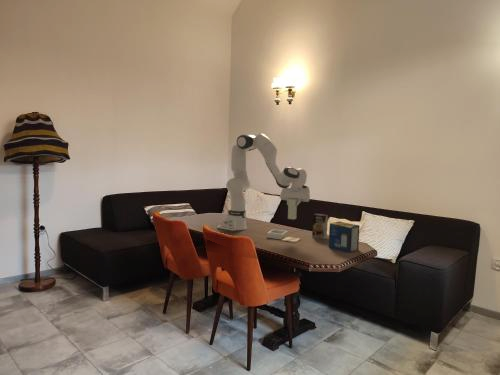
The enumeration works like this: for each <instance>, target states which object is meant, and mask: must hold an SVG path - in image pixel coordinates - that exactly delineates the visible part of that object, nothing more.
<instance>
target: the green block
mask: <svg viewBox="0 0 500 375" xmlns="http://www.w3.org/2000/svg"><path fill="white" fill-rule="evenodd" d="M296 202H298V201H297V199H289V201H288V205H287V206H288V207H287V209H288V210H287V219H288V220H296V219H297V214H298V213H297V212H298V211H297V208H298V206H296V205H295V204H296Z"/></svg>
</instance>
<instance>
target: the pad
mask: <svg viewBox="0 0 500 375" xmlns="http://www.w3.org/2000/svg"><path fill="white" fill-rule="evenodd" d="M300 240H301V238H299V237H292V236H287V237H285V238H284V239H281V241H282V242H286V243H295V244H297V243H298V242H300Z"/></svg>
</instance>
